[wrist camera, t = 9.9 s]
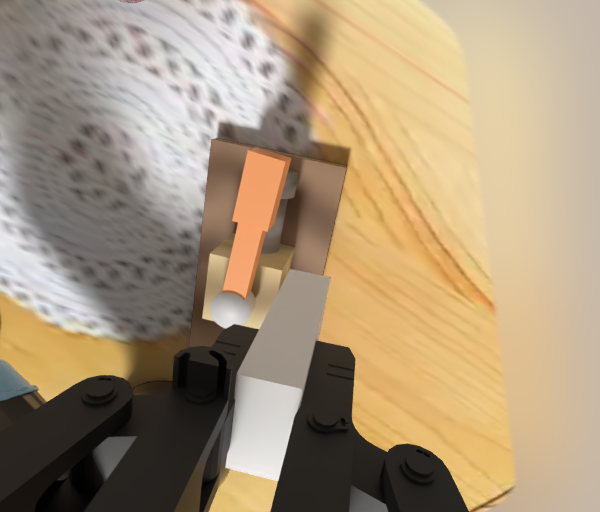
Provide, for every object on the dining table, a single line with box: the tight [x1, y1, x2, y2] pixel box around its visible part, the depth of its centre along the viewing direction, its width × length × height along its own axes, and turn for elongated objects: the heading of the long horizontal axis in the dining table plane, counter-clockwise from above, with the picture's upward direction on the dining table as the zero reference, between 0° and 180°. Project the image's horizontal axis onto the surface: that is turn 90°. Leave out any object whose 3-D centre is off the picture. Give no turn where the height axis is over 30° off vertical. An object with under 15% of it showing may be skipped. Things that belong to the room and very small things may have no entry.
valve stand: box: [189, 138, 347, 347], centre depth 38 cm, size 22×12×8 cm, turn 169°
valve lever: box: [210, 147, 291, 328], centre depth 32 cm, size 14×3×2 cm, turn 164°
